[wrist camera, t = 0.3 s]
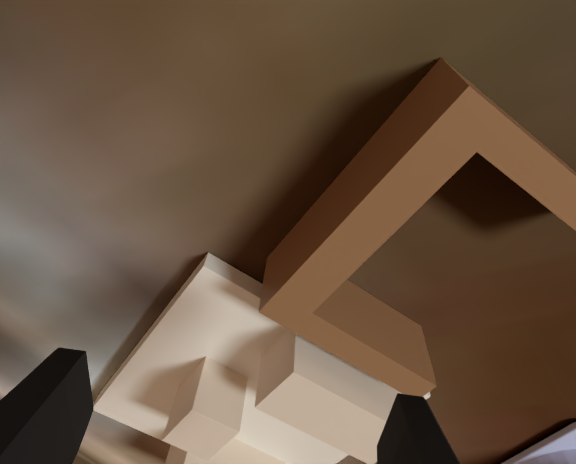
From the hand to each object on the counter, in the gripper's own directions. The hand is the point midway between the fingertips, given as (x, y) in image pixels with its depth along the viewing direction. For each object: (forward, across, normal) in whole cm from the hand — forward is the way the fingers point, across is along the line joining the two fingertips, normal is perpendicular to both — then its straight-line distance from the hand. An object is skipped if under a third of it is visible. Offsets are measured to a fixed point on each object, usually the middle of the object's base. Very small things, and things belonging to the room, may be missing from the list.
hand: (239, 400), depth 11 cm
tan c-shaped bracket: (+10, -6, 0) cm, 11 cm away
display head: (+10, 0, +11) cm, 15 cm away
